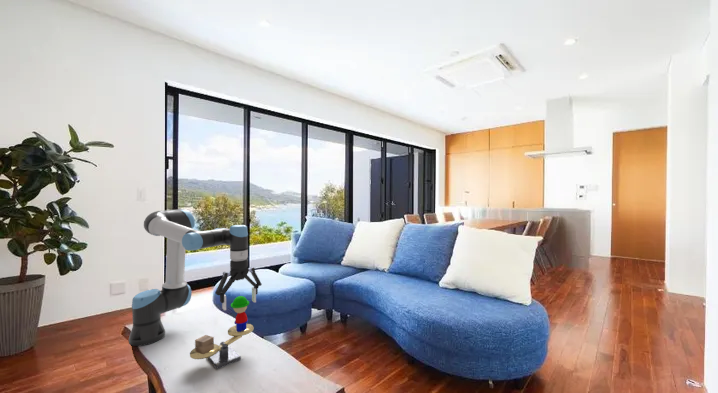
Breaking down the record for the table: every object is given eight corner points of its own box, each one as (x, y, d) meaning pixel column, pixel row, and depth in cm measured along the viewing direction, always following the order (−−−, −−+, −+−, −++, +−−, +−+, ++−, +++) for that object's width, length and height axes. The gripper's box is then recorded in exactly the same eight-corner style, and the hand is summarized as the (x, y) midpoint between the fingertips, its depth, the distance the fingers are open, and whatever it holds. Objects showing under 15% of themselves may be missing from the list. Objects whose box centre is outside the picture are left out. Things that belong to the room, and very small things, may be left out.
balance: (186, 365, 131) (186, 340, 130) (247, 343, 149) (247, 321, 148) (195, 377, 122) (194, 350, 122) (258, 352, 140) (258, 329, 140)
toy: (245, 323, 146) (244, 292, 146) (252, 328, 140) (251, 296, 140) (228, 329, 140) (227, 296, 140) (235, 334, 135) (234, 300, 134)
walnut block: (195, 351, 129) (195, 339, 129) (206, 346, 133) (205, 334, 133) (203, 354, 126) (203, 342, 126) (213, 348, 131) (213, 337, 131)
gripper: (212, 265, 128) (213, 315, 129) (268, 256, 145) (268, 300, 146) (207, 262, 134) (207, 310, 134) (261, 253, 151) (261, 296, 151)
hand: (239, 305), depth 140 cm, fingers open, 13 cm apart
